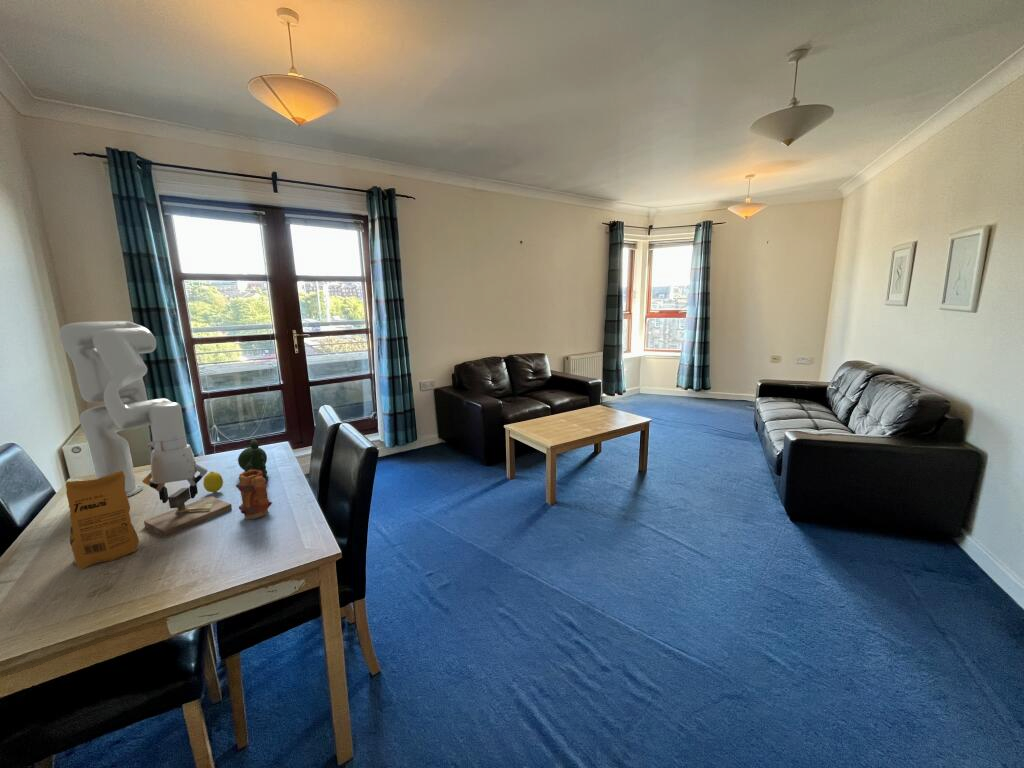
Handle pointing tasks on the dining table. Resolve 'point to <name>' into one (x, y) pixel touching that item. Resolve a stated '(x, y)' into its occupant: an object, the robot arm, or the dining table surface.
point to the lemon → (213, 482)
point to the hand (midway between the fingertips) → (179, 498)
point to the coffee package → (100, 520)
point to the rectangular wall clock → (186, 516)
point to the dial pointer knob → (182, 501)
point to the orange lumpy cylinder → (253, 494)
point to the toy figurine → (253, 459)
